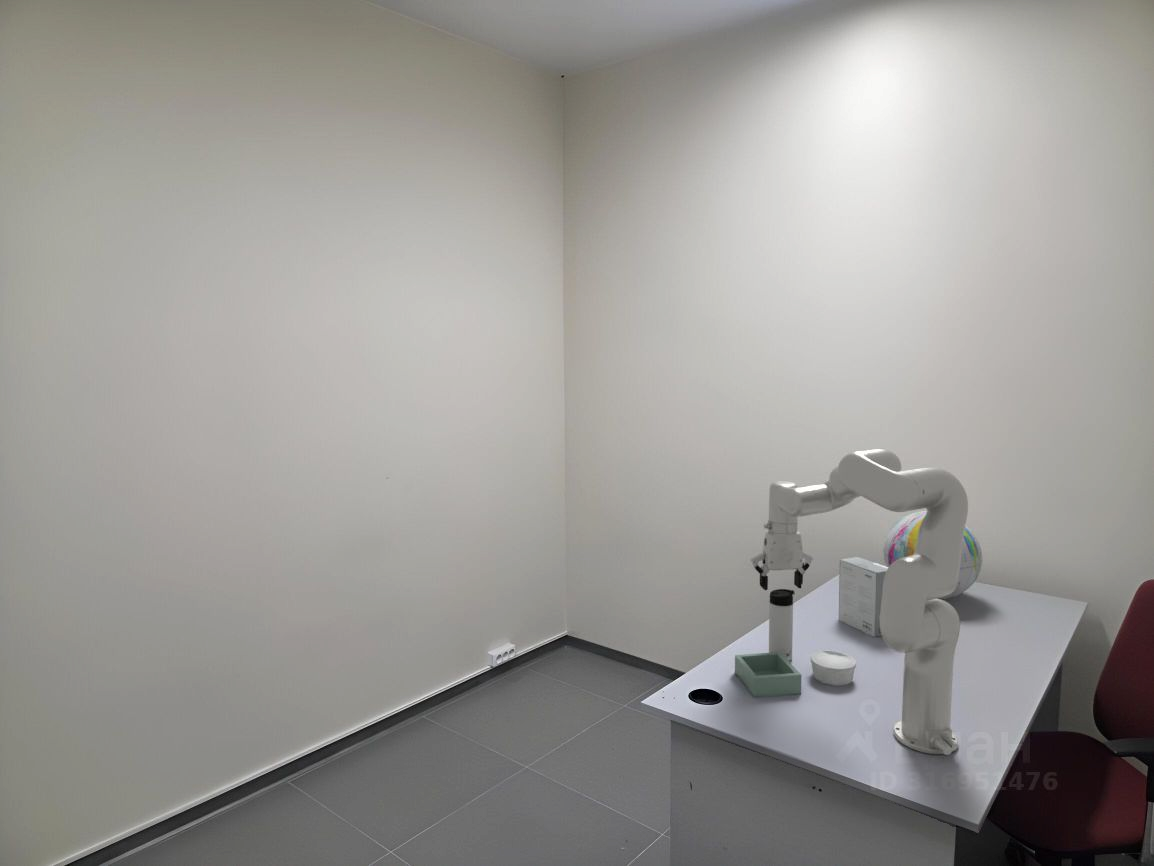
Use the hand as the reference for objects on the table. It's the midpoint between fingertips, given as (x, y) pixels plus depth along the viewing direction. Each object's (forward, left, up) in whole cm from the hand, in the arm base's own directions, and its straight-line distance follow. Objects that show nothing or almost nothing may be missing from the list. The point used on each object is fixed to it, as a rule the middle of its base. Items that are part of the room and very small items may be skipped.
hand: (780, 587), depth 190 cm
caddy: (-12, +9, -21) cm, 26 cm away
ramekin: (-12, -9, -21) cm, 26 cm away
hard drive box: (+18, -35, -21) cm, 45 cm away
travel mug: (0, 0, -21) cm, 21 cm away
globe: (+38, -70, -21) cm, 82 cm away
